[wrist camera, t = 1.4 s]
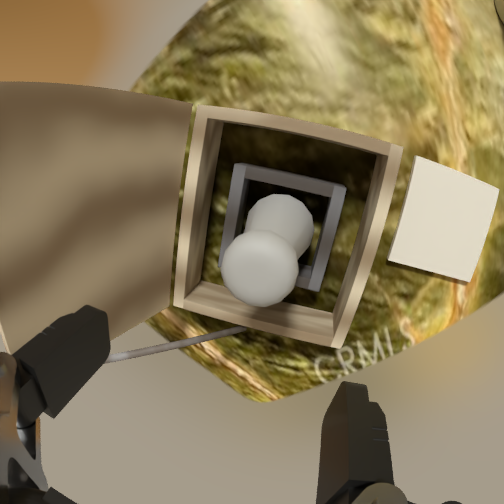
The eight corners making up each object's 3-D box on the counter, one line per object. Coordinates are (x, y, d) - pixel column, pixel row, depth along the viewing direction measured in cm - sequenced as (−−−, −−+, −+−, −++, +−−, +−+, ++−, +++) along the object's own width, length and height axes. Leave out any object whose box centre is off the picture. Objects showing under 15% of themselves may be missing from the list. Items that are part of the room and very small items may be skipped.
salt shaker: (326, 229, 28) (332, 293, 16) (276, 262, 30) (247, 340, 18) (288, 177, 27) (265, 201, 15) (239, 213, 29) (183, 262, 17)
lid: (193, 103, 21) (182, 103, 22) (-26, 82, 7) (-30, 85, 7) (170, 306, 28) (160, 301, 28) (16, 396, 13) (9, 386, 14)
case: (192, 108, 26) (100, 86, 13) (389, 147, 24) (455, 147, 11) (170, 289, 33) (99, 363, 20) (335, 331, 31) (338, 435, 18)
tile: (414, 155, 24) (416, 155, 23) (496, 188, 22) (499, 189, 22) (386, 258, 27) (388, 260, 27) (467, 280, 26) (469, 282, 25)
